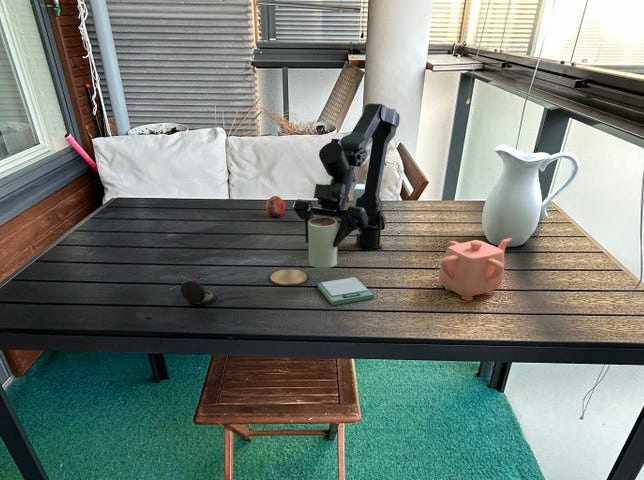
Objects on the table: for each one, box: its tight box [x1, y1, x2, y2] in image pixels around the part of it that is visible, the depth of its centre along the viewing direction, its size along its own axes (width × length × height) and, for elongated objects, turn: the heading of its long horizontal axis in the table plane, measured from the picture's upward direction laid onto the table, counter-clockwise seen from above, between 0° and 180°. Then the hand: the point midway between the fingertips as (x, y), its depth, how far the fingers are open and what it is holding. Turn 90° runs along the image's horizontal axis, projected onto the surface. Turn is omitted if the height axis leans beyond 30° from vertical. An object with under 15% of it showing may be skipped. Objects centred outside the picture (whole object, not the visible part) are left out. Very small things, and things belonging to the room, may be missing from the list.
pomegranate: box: [265, 195, 286, 218], centre depth 178 cm, size 7×7×10 cm
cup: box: [307, 216, 339, 269], centre depth 121 cm, size 7×7×11 cm
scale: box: [317, 276, 374, 306], centre depth 125 cm, size 11×11×2 cm
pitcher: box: [481, 144, 580, 248], centre depth 147 cm, size 24×17×28 cm
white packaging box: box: [352, 183, 365, 206], centre depth 169 cm, size 7×7×13 cm
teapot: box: [438, 238, 512, 301], centre depth 122 cm, size 17×16×13 cm
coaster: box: [270, 268, 308, 287], centre depth 133 cm, size 10×10×1 cm
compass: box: [180, 278, 215, 306], centre depth 120 cm, size 8×8×7 cm
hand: (320, 244), depth 120 cm, fingers closed on cup, 7 cm apart
